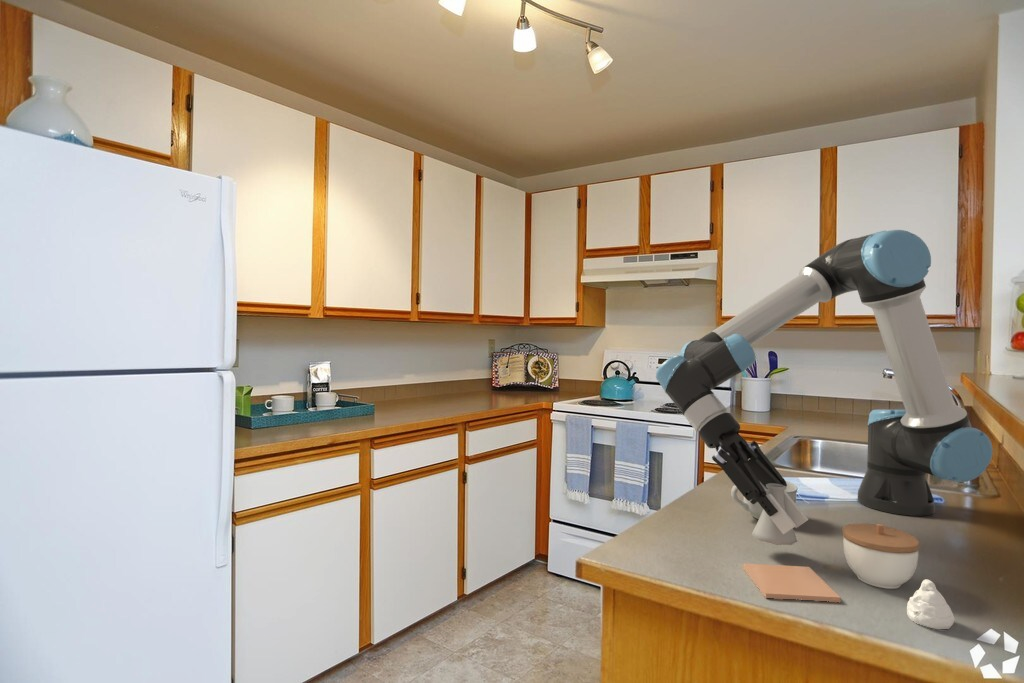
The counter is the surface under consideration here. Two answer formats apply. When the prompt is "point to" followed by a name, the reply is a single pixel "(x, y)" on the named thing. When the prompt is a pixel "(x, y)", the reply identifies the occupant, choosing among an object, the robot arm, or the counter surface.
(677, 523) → the counter surface
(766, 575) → the coaster
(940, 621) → the garlic bulb
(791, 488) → the teacup
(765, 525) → the flask
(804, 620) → the counter surface
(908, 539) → the lidded jar
